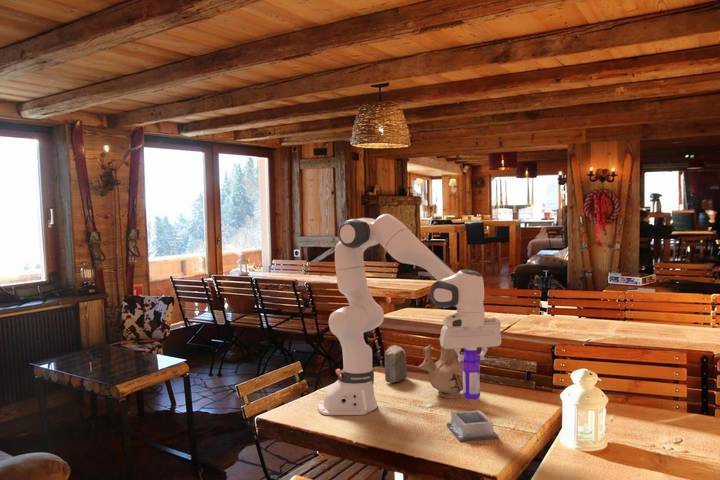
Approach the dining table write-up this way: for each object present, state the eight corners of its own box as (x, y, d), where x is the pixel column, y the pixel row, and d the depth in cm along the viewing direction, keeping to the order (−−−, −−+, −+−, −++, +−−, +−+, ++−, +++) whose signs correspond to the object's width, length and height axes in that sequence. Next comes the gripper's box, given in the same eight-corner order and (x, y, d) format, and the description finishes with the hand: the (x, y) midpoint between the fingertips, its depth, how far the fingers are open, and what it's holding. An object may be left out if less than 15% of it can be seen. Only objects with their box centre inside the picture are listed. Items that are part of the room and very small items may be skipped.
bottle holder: (459, 441, 177) (459, 426, 176) (446, 426, 189) (446, 412, 189) (498, 438, 179) (498, 423, 178) (482, 423, 192) (482, 409, 191)
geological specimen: (395, 385, 235) (395, 350, 234) (383, 383, 238) (382, 348, 238) (407, 378, 244) (407, 345, 243) (395, 376, 247) (394, 343, 247)
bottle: (480, 401, 179) (480, 347, 179) (463, 400, 180) (462, 347, 180) (480, 394, 186) (479, 342, 186) (462, 393, 187) (462, 342, 187)
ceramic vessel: (444, 385, 234) (444, 326, 233) (483, 394, 221) (483, 333, 220) (417, 395, 221) (416, 334, 220) (457, 407, 208) (456, 341, 207)
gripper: (496, 315, 187) (496, 356, 188) (438, 318, 184) (438, 359, 184) (504, 319, 181) (504, 361, 181) (444, 322, 177) (444, 365, 178)
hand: (471, 360), depth 183 cm, fingers closed on bottle, 6 cm apart
